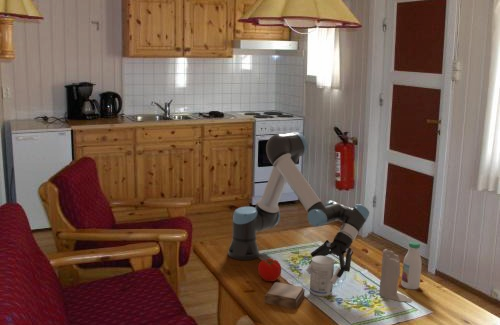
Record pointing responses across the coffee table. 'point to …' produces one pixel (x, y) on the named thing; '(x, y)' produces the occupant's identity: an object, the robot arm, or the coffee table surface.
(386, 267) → the beige bookend
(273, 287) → the plinth
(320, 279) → the supplement tub
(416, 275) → the milk bottle
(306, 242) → the coffee table surface
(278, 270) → the tomato
